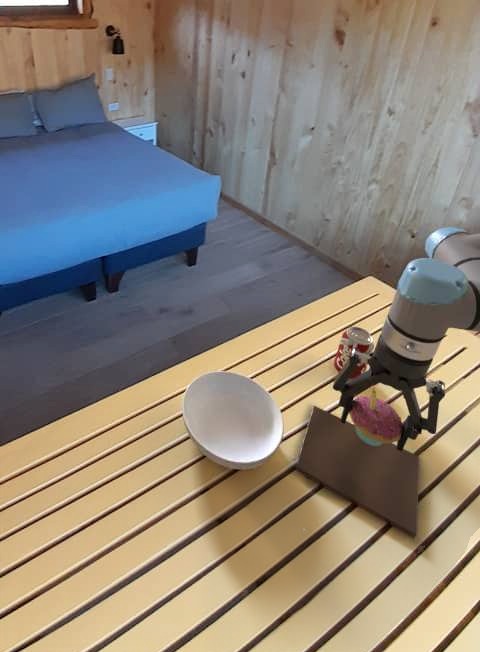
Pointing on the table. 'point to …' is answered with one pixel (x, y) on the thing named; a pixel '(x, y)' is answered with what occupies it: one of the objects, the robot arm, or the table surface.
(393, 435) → the cupcake
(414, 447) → the table surface
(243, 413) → the serving bowl
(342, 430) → the serving board
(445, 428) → the table surface
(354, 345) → the soda can
